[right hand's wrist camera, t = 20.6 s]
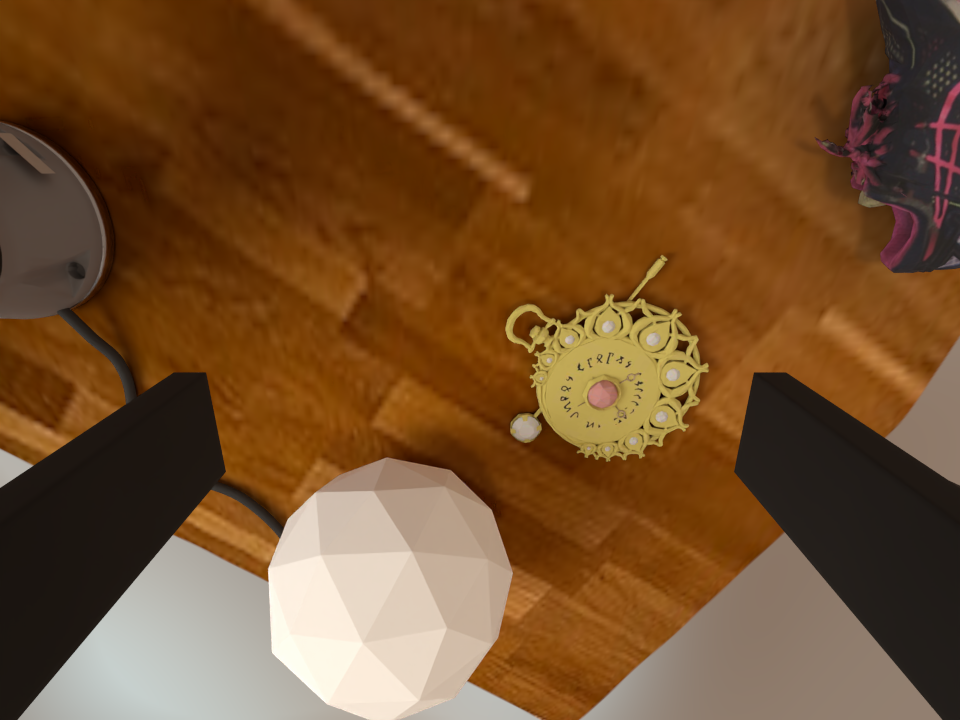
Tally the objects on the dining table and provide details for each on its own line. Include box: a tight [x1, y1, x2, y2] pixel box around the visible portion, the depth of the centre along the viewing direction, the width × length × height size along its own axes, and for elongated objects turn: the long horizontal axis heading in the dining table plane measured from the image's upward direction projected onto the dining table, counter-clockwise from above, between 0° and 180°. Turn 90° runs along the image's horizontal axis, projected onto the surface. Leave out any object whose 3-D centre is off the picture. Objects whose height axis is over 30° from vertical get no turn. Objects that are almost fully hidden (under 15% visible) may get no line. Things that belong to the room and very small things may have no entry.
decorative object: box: [506, 255, 709, 462], centre depth 45 cm, size 21×2×20 cm
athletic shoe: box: [815, 0, 960, 273], centre depth 36 cm, size 11×22×12 cm
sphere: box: [268, 458, 513, 720], centre depth 43 cm, size 19×20×20 cm
